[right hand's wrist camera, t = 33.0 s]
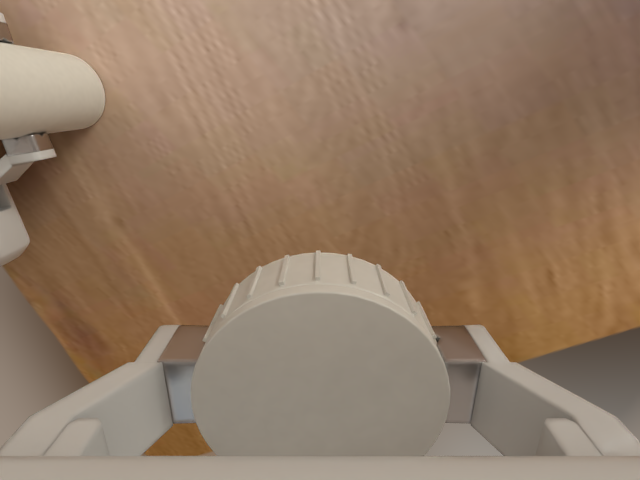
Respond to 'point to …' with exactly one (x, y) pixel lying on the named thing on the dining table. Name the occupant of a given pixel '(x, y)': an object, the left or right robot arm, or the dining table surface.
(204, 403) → the lid
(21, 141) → the left robot arm
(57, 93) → the jar
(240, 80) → the dining table surface
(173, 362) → the right robot arm
